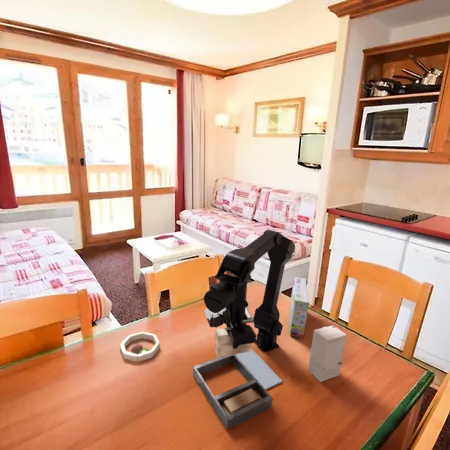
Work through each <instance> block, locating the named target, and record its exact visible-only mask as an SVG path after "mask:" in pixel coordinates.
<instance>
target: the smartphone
mask: <svg viewBox="0 0 450 450" xmlns="http://www.w3.org/2000/svg"><path fill="white" fill-rule="evenodd" d="M245 313H246V315H247V320H243V323H252V322H253V317H254V316H252V314H251V312H250V311H249V308H248V307H246V309H245Z"/></svg>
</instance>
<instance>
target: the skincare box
mask: <svg viewBox="0 0 450 450" xmlns="http://www.w3.org/2000/svg"><path fill="white" fill-rule="evenodd" d="M312 334H313V335H312V343H311V349H310V356H309V362H308V367H307V371H308V372H310V373H311V375H312V376H313V377H314V378H315V379H316V380H317V381H318V382H319V383H322V382H324V381H326V380H330V379H333V378H337V377H339V376H340V374H341V368H342V363H343V356H344V351H345V346H346V340H347V333H345V332H343V331H342V330H340V328H338V327H336V326H335V325H329V326H322V328H321V327H320V328H317V329H314V330H313V333H312Z"/></svg>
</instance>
